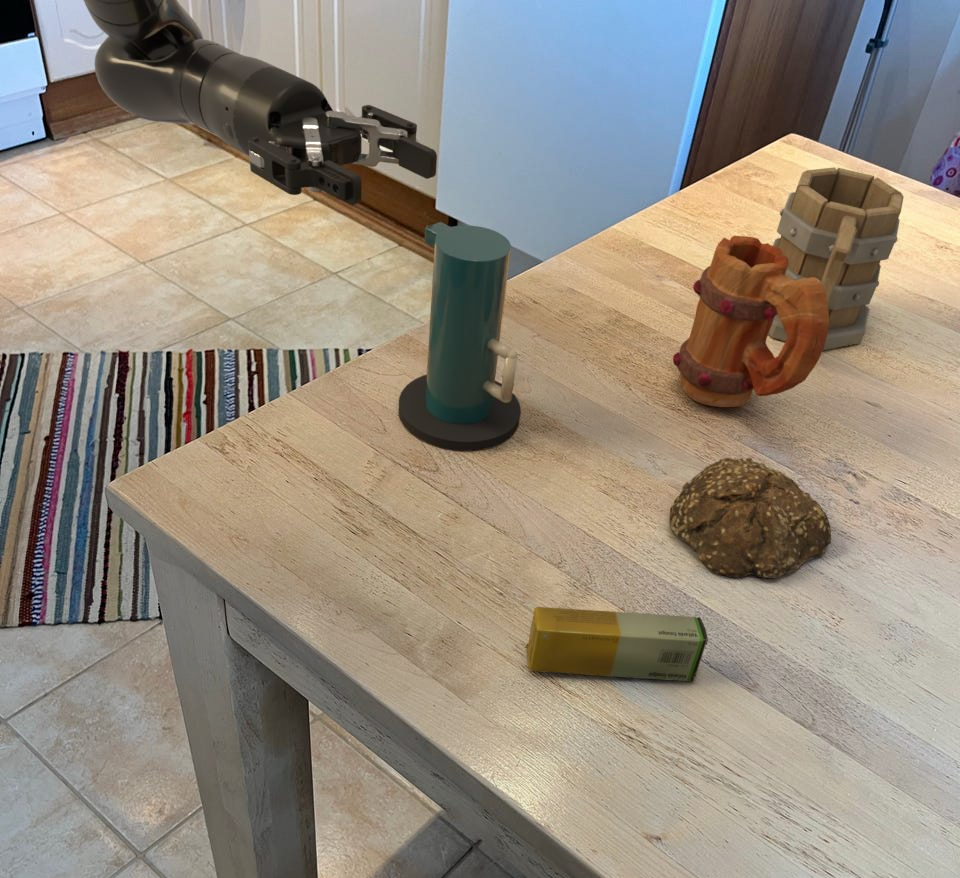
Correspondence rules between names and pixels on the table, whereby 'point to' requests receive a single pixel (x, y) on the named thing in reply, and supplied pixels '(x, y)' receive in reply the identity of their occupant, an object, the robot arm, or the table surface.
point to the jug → (467, 323)
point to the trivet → (457, 435)
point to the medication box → (616, 644)
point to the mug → (750, 326)
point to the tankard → (839, 244)
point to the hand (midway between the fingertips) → (397, 178)
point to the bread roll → (749, 520)
